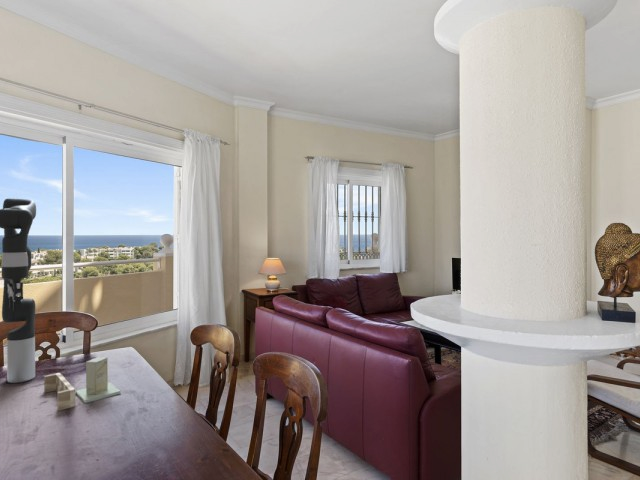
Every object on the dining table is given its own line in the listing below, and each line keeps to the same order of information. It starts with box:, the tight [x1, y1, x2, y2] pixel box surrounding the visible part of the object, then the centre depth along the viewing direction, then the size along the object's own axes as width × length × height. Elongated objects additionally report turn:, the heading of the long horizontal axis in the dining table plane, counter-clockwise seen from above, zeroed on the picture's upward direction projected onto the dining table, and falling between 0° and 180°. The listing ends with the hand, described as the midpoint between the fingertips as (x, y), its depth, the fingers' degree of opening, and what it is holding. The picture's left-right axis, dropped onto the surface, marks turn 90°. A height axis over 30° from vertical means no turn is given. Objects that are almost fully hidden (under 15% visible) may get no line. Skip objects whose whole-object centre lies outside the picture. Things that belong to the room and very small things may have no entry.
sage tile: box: [75, 381, 121, 404], centre depth 148 cm, size 12×12×1 cm
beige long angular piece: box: [43, 372, 76, 412], centre depth 143 cm, size 22×5×6 cm, turn 45°
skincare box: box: [85, 356, 109, 394], centre depth 148 cm, size 6×4×12 cm
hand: (15, 310), depth 140 cm, fingers open, 8 cm apart
